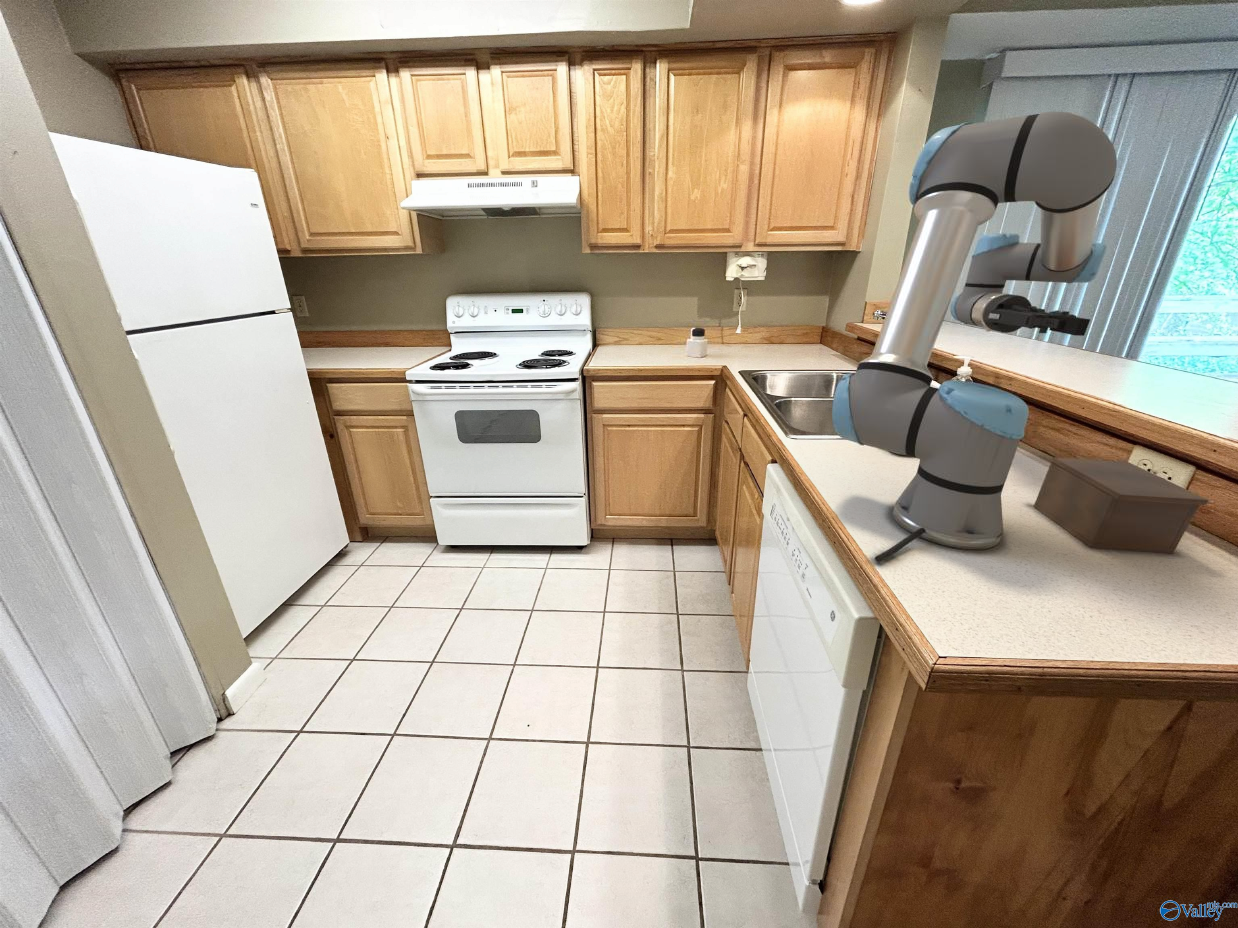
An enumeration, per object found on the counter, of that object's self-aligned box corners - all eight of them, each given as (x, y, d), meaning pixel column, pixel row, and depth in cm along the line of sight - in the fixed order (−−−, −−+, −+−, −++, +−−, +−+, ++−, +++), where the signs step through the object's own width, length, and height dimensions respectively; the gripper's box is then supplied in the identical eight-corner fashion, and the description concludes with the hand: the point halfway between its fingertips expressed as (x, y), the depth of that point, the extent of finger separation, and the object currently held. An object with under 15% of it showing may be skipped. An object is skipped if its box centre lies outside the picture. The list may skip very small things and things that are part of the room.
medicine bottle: (706, 355, 217) (709, 327, 212) (700, 358, 211) (702, 329, 207) (692, 353, 221) (694, 326, 216) (685, 356, 215) (687, 328, 210)
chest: (1173, 553, 74) (1201, 502, 71) (1090, 547, 76) (1113, 497, 72) (1103, 511, 87) (1124, 465, 83) (1033, 506, 88) (1051, 461, 85)
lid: (1206, 505, 70) (1209, 500, 70) (1117, 499, 72) (1120, 494, 71) (1124, 465, 83) (1126, 461, 83) (1051, 461, 85) (1052, 457, 84)
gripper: (1028, 331, 105) (1115, 351, 83) (963, 329, 106) (1032, 348, 85) (1041, 294, 102) (1134, 305, 80) (974, 293, 103) (1048, 303, 82)
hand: (1082, 327), depth 83 cm, fingers closed
